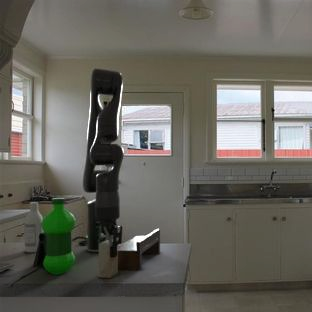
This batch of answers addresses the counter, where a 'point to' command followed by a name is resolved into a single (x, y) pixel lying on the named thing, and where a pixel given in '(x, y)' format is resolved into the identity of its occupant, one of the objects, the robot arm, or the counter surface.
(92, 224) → the robot arm
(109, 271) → the box
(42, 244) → the phone stand
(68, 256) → the plastic bottle
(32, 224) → the bath foam
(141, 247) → the shelf
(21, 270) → the counter surface
